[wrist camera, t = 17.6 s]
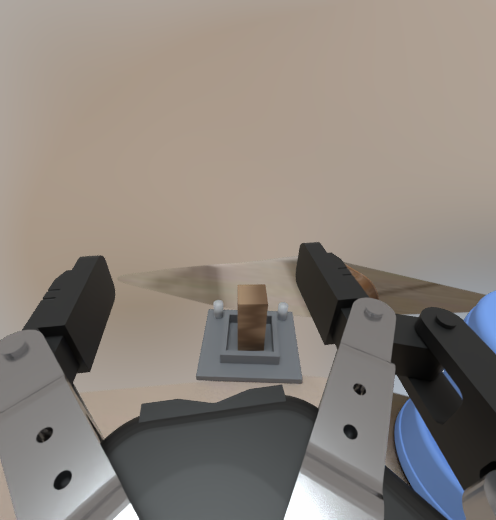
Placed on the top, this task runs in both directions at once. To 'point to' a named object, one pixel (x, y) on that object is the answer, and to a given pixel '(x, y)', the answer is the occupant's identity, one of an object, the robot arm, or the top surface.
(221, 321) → the seat board
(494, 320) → the water jug
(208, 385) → the top surface
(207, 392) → the top surface
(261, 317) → the block
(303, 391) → the top surface
